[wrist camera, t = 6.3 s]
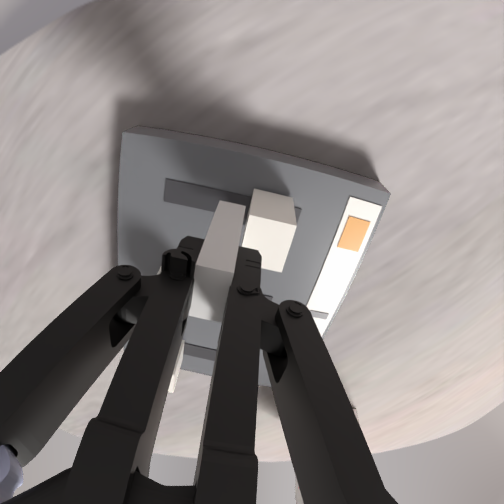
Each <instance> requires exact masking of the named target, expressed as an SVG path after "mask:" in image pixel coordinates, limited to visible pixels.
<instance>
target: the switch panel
mask: <svg viewBox="0 0 504 504" xmlns="http://www.w3.org/2000/svg"><path fill="white" fill-rule="evenodd" d="M254 189H259V190H263V191H267V192H271V193H275V194H280V195H284V196H288V197H292V198H293V202H294V209H295V216H296V223H297V227H296V230H295V233H294V236H293V239H292V242H291V246H290V249H289V252H288V255H287V258H286V261H285V264H284V267H283V270H282V273H281V272H277V271H272V270H268V269H263V268H261V284H260V288H261V289H262V293H263V295H264V296H265V297H266V298H267V299H269V300H270V301H272V302H274V303H277V304H279V305H280V303H281V302H283V301H285V300H295V301H298V302H301V303H303V304H304V305H305V306H307V308H308V309H309V310H310V312H311V314H312V317H313V319H314V321H315V323H316V326H317V328H318V330H319V332H320V335H321V337H322V339H324V337H325V335H326V333H327V331H328V329H329V327H330V326H331V324H332V322H333V320H334V318H335V316H336V314H337V312H338V310H339V308H340V306H341V304H342V302H343V300H344V298H345V296H346V294H347V292H348V290H349V288H350V286H351V284H352V282H353V280H354V278H355V276H356V273H357V271H358V269H359V267H360V265H361V263H362V260H363V258H364V256H365V254H366V252H367V249H368V247H369V245H370V243H371V240H372V238H373V236H374V233H375V231H376V229H377V226H378V224H379V222H380V219H381V217H382V214H383V212H384V210H385V207H386V205H387V202H388V200H389V197H390V195H391V194H390V192H389V191H388V190H387V189H386V188H385V187H384V186H383V185H382V184H381V183H380V182H379V181H376V180H373V179H370V178H367V177H364V176H361V175H357V174H354V173H351V172H348V171H344V170H341V169H338V168H334V167H331V166H328V165H324V164H320V163H317V162H313V161H310V160H306V159H302V158H298V157H295V156H291V155H287V154H283V153H279V152H275V151H271V150H266V149H262V148H258V147H253V146H249V145H244V144H240V143H235V142H230V141H225V140H220V139H215V138H210V137H205V136H200V135H194V134H188V133H182V132H176V131H170V130H164V129H157V128H150V127H143V126H136V127H133V128H131V129H128V130H126V131H124V132H122V142H121V154H120V168H119V186H118V219H117V247H118V266H119V265H131V266H134V267H136V268H137V269H139V271H140V272H141V276H152V275H157V273H158V271H159V269H160V267H161V265H162V254H163V253H164V252H165V251H167V250H170V249H177V247H178V245H179V243H180V241H181V239H183V238H185V237H186V236H192V237H197V238H201V239H205V238H206V235H207V232H208V230H209V227H210V224H211V222H212V219H213V217H214V214H215V211H216V209H217V206H218V204H219V201H220V200H221V201H225V202H230V203H235V204H239V205H244V206H246V208H245V214H244V219H243V225H242V230H241V236H240V242H239V246H241V243H242V238H243V233H244V228H245V224H246V220H247V215H248V211H249V207H250V203H251V199H252V195H253V190H254ZM221 325H222V323H220V322H215V321H211V320H206V319H201V318H197V317H193V316H189V314H188V318H187V325H186V329H185V332H184V335H183V339H182V340H185V341H184V351H183V360H182V364H181V367H180V369H183V370H187V371H191V372H196V373H200V374H204V375H209V376H212V373H213V367H214V362H215V356H216V351H217V345H218V338H219V334H220V329H221ZM128 341H129V340H128ZM128 341H127V343H126V344H125V345H124V351H125V348H126V346H127V344H128ZM258 385H262V386H268V387H271V384H270V380H269V376H268V372H267V369H266V365H265V361H264V357H263V350H262V349H260V357H259V376H258Z"/></svg>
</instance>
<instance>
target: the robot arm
mask: <svg viewBox="0 0 504 504" xmlns="http://www.w3.org/2000/svg"><path fill="white" fill-rule="evenodd" d="M245 208H246V206H244V205H239V204H235V203H230V202H225V201H221V200H220V201H219V204H218V206H217V209H216V211H215V214H214V217H213V219H212V222H211V224H210V227H209V230H208V232H207V235H206V238H205V239H201V238H197V237H192V236H186V237H185V238H183V239H181V241H180V243H179V245H178V247H177V249H170V250H167V251H165V252H164V253H163V254H162V265H161V273H160V274H158V275H152V276H141V272H140V271H139V269H137V268H136V267H134V266H131V265H119V266H116V267H114V268H113V269H111V270H110V271H109V272H108V273H106V274H105V275H104V276H103V277H102V278H101V279H99V280H98V281H97V282H96V283H95V284H94V285H92V286H91V287H90V288H89V289H88V290H87V291H86V292H84V293H83V294H82V295H81V296H80V297H79V298H78V299H77V300H75V301H74V302H73V303H72V304H71V305H70V306H69V307H68V308H66V309H65V310H64V311H63V312H62V313H61V314H60V315H59V316H58V317H57V318H56V319H54V320H53V321H52V322H51V323H50V324H49V325H48V326H47V327H46V328H45V329H44V330H43V331H42V332H41V333H40V334H38V335H37V336H36V337H35V338H34V339H33V340H32V341H31V342H30V343H29V344H28V345H27V346H26V347H25V348H24V349H23V350H22V351H21V352H20V353H19V354H18V355H17V356H16V357H15V358H14V359H13V360H12V361H11V362H10V363H9V364H8V365H7V366H6V367H5V368H4V369H3V370H2V371H1V372H0V504H256V493H257V476H258V459H257V456H256V455H255V452H254V447H255V430H256V413H257V395H258V376H259V357H260V349H262V350H263V357H264V361H265V365H266V369H267V372H268V376H269V380H270V384H271V387H272V391H273V395H274V398H275V402H276V406H277V409H278V413H279V417H280V420H281V424H282V428H283V431H284V435H285V439H286V442H287V446H288V449H289V453H290V457H291V460H292V464H293V467H294V471H295V474H296V478H297V482H298V485H299V489H300V492H301V496H302V499H303V503H304V504H398V503H397V502H396V501H395V500H394V498H393V497H392V496H391V495H390V494H389V493H388V492H387V491H386V489H385V487H384V485H383V482H382V480H381V477H380V475H379V472H378V470H377V467H376V465H375V462H374V460H373V457H372V455H371V452H370V450H369V447H368V445H367V442H366V440H365V438H364V435H363V433H362V430H361V428H360V425H359V423H358V421H357V418H356V416H355V413H354V411H353V409H352V406H351V404H350V402H349V399H348V397H347V394H346V392H345V390H344V387H343V385H342V383H341V380H340V378H339V376H338V373H337V371H336V369H335V367H334V364H333V362H332V360H331V357H330V355H329V353H328V350H327V348H326V346H325V344H324V341H323V339H322V337H321V335H320V332H319V330H318V328H317V326H316V323H315V321H314V319H313V317H312V314H311V312H310V310H309V309H308V308H307V306H305V305H304V304H303V303H301V302H298V301H295V300H285V301H283V302H281V303H280V305H279V304H277V303H274V302H272V301H270V300H269V299H267V298H266V297H265V296H264V295H263V293H262V289H261V288H260V284H261V263H262V256H261V254H260V253H259V251H258V250H255V249H251V248H246V247H241V246H239V242H240V236H241V230H242V225H243V219H244V214H245ZM188 314H189V316H193V317H197V318H201V319H206V320H211V321H215V322H220V323H222V325H221V329H220V334H219V338H218V345H217V351H216V356H215V362H214V367H213V373H212V379H211V384H210V390H209V396H208V401H207V407H206V413H205V419H204V424H203V430H202V436H201V442H200V448H199V454H198V461H197V466H196V472H195V478H194V483H193V486H164V485H161V484H159V483H157V482H155V481H153V480H151V479H149V478H148V476H149V468H150V467H149V466H150V461H151V456H152V452H153V448H154V444H155V440H156V436H157V432H158V428H159V424H160V420H161V416H162V412H163V408H164V404H165V401H166V397H167V393H168V389H169V386H170V382H171V378H172V375H173V371H174V367H175V364H176V360H177V357H178V353H179V349H180V346H181V342H182V339H183V335H184V332H185V329H186V325H187V318H188ZM128 340H129V341H128ZM127 341H128V344H127V346H126V348H125V351H124V353H123V355H122V358H121V360H120V362H119V365H118V367H117V370H116V372H115V374H114V377H113V379H112V382H111V384H110V387H109V389H108V392H107V394H106V397H105V399H104V402H103V404H102V407H101V410H100V412H99V414H98V416H97V417H96V418H92V419H91V420H90V421H89V423H88V425H87V427H86V429H85V432H84V435H83V437H82V440H81V443H80V446H79V448H78V451H77V454H76V457H75V460H74V463H73V466H72V467H71V468H69V469H66V470H64V471H62V472H61V473H59V474H57V475H55V476H53V477H51V478H50V479H48V480H46V481H44V482H42V483H40V484H38V485H37V486H35V487H33V488H31V489H29V490H27V491H25V492H23V493H21V494H19V495H17V496H15V497H13V494H14V491H15V490H16V489H17V488H18V487H20V486H21V485H22V484H23V471H22V467H24V466H25V465H27V464H28V463H29V462H30V461H31V460H32V459H33V458H34V457H36V455H37V454H38V453H39V452H40V451H41V450H42V448H43V447H44V446H45V444H46V443H47V442H48V440H49V439H50V438H51V436H52V435H53V434H54V433H55V431H56V430H57V429H58V427H59V426H60V425H61V424H62V422H63V421H64V420H65V418H66V417H67V416H68V415H69V413H70V412H71V411H72V409H73V408H74V407H75V406H76V404H77V403H78V402H79V401H80V399H81V398H82V397H83V396H84V394H85V393H86V392H87V390H88V389H89V388H90V387H91V385H92V384H93V383H94V382H95V381H96V379H97V378H98V377H99V376H100V374H101V373H102V372H103V371H104V369H105V368H106V367H107V366H108V365H109V363H110V362H111V361H112V360H113V358H114V357H115V356H116V355H117V354H118V352H119V351H120V350H121V349H122V347H123V346H124V345H125V344H126V343H127Z"/></svg>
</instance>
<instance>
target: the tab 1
mask: <svg viewBox="0 0 504 504" xmlns="http://www.w3.org/2000/svg"><path fill="white" fill-rule="evenodd" d="M184 341H185V340H182V342H181V346H180V349H179V353H178V357H177V360H176V364H175V367H174V371H173V375H172V378H171V382H170V386H169V389H168V392H170V393H174V389H175V385H176V382H177V378H178V375H179V371H180V367H181V364H182V360H183V351H184Z"/></svg>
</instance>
